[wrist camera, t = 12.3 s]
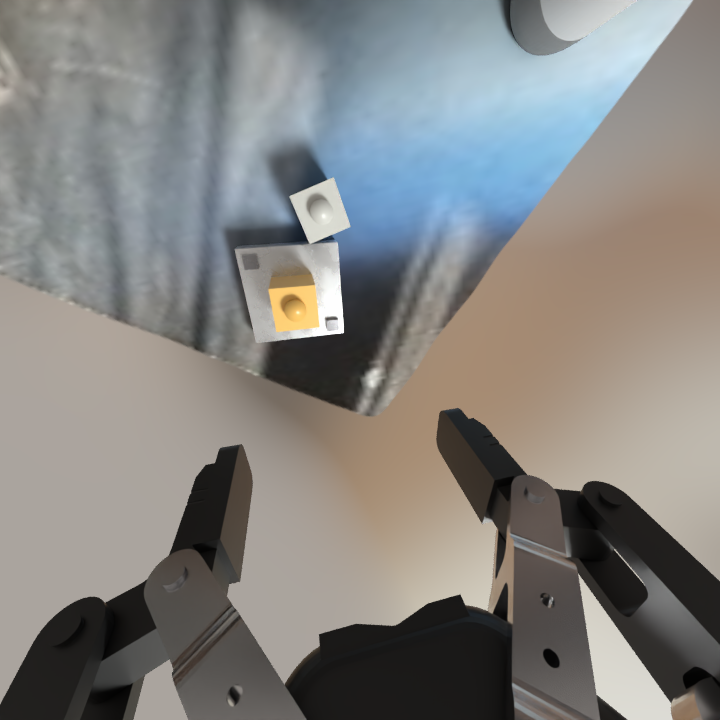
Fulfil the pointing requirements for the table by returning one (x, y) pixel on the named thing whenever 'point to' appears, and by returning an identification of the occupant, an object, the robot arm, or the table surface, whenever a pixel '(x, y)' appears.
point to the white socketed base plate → (291, 261)
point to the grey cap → (320, 210)
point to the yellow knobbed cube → (294, 302)
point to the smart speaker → (559, 21)
